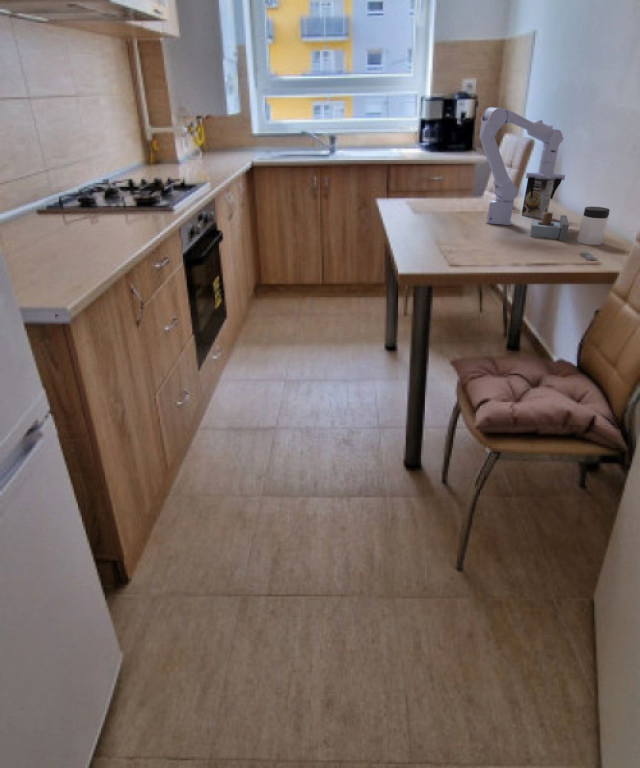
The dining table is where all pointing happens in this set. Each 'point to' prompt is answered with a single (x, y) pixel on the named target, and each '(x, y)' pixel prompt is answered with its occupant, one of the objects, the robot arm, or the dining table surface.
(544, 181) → the coffee box
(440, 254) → the dining table surface
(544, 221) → the dowel
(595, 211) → the jar
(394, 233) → the dining table surface
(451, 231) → the dining table surface
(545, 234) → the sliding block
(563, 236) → the wall
